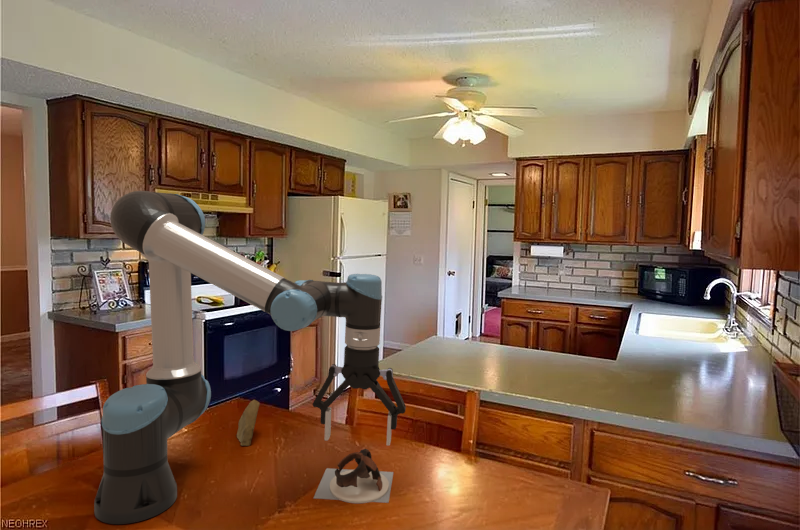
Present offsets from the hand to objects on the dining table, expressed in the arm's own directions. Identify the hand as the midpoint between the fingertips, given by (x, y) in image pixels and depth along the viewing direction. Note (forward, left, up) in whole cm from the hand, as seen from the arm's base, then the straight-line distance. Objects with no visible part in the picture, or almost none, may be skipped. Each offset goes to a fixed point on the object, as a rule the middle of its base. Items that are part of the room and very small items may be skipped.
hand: (357, 440), depth 109 cm
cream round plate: (0, 0, -11) cm, 11 cm away
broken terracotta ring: (+1, 0, -10) cm, 10 cm away
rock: (-35, +23, -12) cm, 43 cm away
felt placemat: (-1, +1, -11) cm, 11 cm away
